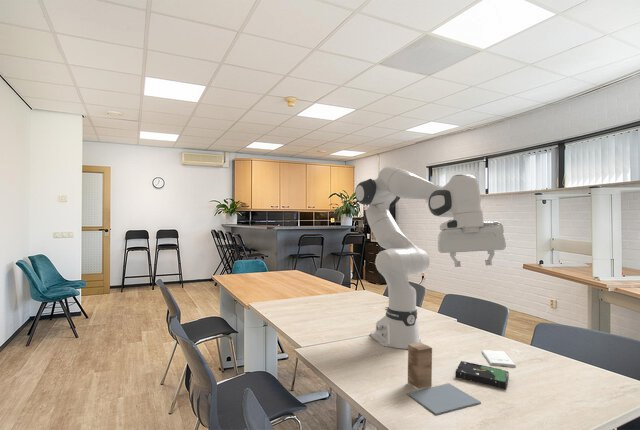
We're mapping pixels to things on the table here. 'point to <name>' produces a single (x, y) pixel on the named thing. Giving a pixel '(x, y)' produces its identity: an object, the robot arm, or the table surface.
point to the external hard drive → (498, 358)
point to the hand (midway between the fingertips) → (473, 266)
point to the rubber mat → (443, 398)
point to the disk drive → (482, 374)
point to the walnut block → (419, 366)
